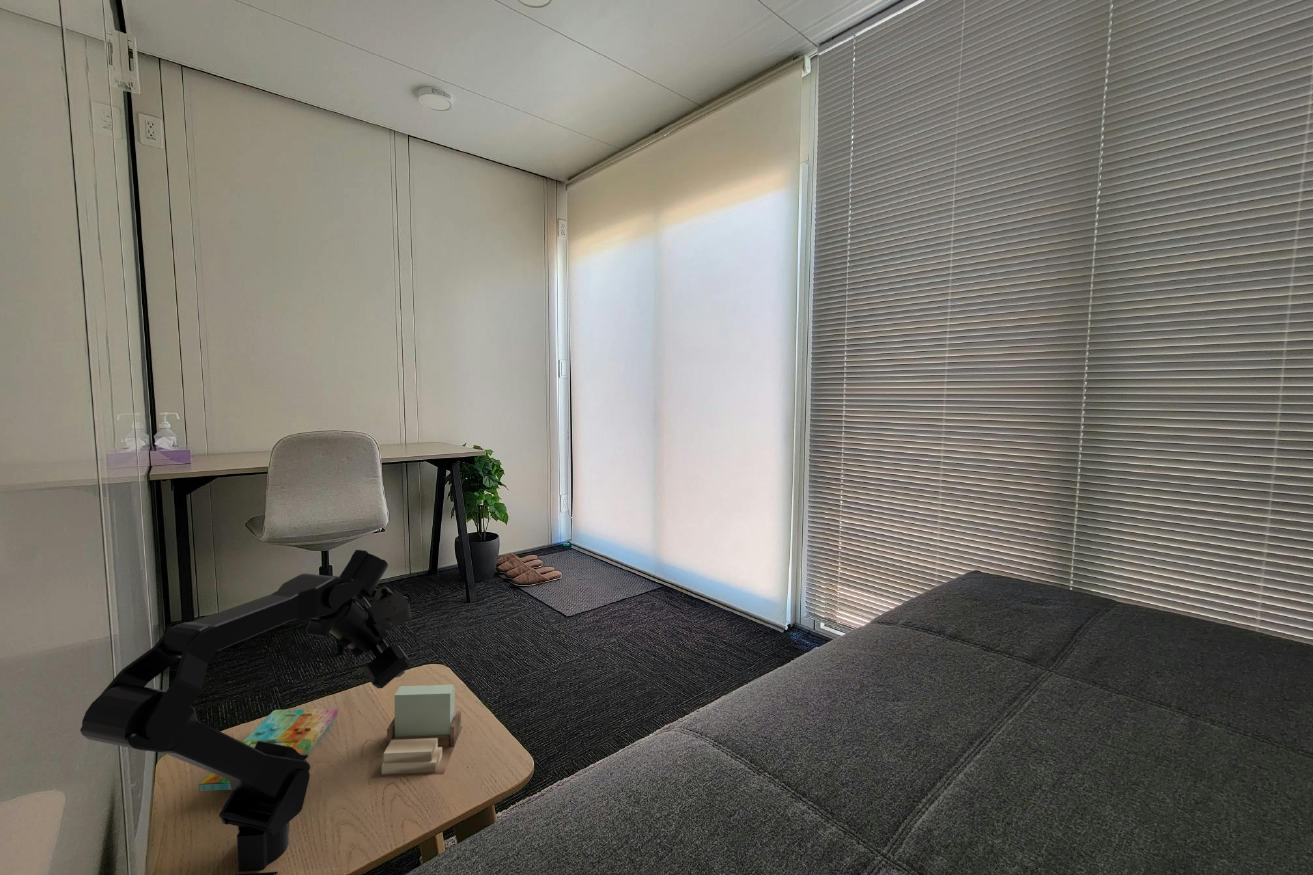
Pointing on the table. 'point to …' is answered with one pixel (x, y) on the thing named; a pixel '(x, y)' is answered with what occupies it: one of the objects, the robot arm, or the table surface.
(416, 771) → the offcut stack
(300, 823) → the table surface
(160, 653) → the robot arm
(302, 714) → the puzzle game
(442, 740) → the rack
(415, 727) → the board
